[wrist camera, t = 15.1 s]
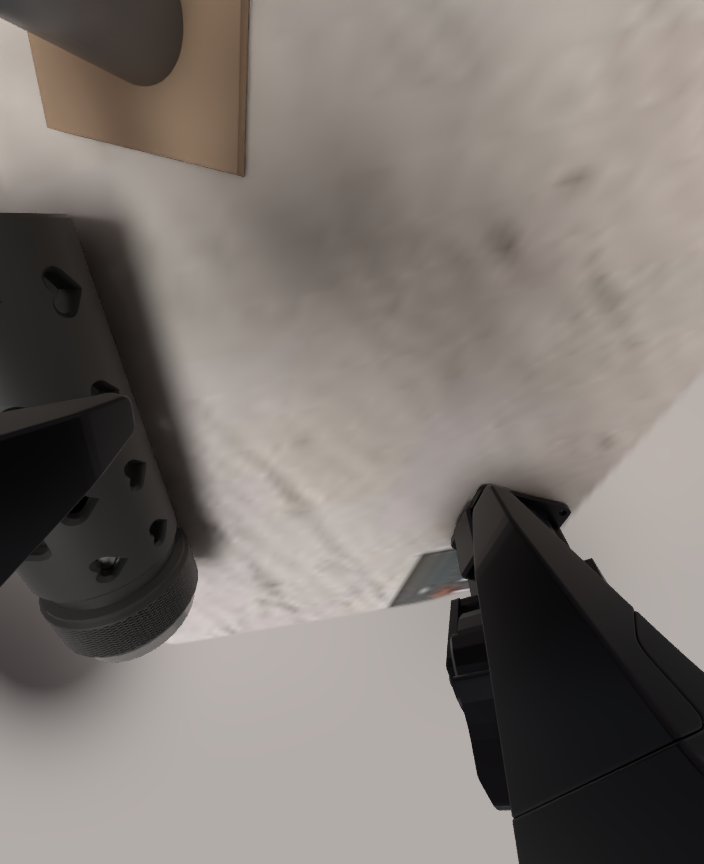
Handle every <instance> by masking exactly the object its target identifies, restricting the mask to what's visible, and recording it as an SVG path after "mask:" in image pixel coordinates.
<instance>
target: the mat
mask: <svg viewBox="0 0 704 864" xmlns="http://www.w3.org/2000/svg"><path fill="white" fill-rule="evenodd" d="M180 1H181V7H182V14H183V40H182V47H181V52H180V55H179V58H178V61H177V63H176V65H175V67H174V69H173V70H172V72H171V73H170V74H169V75H168V76H167V77H166V78H165V79H164V80H163V81H161V82H160V83H157V84H155V85H151V86H138V85H134V84H131V83H129V82H127V81H125V80H123V79H121V78H119V77H117V76H115V75H113V74H111V73H109V72H107V71H105V70H103V69H101V68H99V67H97V66H95V65H93V64H91V63H89V62H87V61H85V60H83V59H81V58H79V57H77V56H75V55H73V54H71V53H69V52H67V51H65V50H63V49H61V48H59V47H57V46H55V45H54V44H52V43H50V42H48V41H46V40H44V39H42V38H40V37H38V36H36V35H34V34H32V33H30V32H28V31H27V33H28V37H29V42H30V47H31V52H32V57H33V61H34V66H35V71H36V76H37V80H38V85H39V90H40V95H41V99H42V104H43V109H44V114H45V119H46V123H47V128H51V129H55V130H58V131H62V132H66V133H70V134H74V135H78V136H82V137H86V138H90V139H94V140H99V141H103V142H107V143H111V144H115V145H119V146H123V147H127V148H131V149H135V150H139V151H143V152H147V153H151V154H155V155H159V156H163V157H167V158H171V159H175V160H179V161H184V162H188V163H192V164H196V165H200V166H204V167H208V168H212V169H216V170H220V171H224V172H228V173H232V174H236V175H240V176H244V157H245V122H246V87H247V52H248V16H249V0H180Z"/></svg>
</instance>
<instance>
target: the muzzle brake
mask: <svg viewBox="0 0 704 864" xmlns="http://www.w3.org/2000/svg"><path fill="white" fill-rule="evenodd" d="M104 393H115V394H119V395H124V396H127V397H128V398H129V399H130V401H131V404H132V410H133V416H134V422H135V429H134V432H133V434H132V436H131V437H130V438H129V440H128V441H127V442H126V444H125V445H124V447H123V448H122V449H121V451H120V452H119V453H118V455H117V456H116V457H115V459H114V460H113V461H112V463H111V464H110V465H109V467H108V468H107V469H106V471H105V472H104V473H103V475H102V476H101V477H100V479H99V480H98V481H97V482H96V483H95V485H94V486H93V487H92V488H91V489H90V490H89V491H88V492H87V494H86V495H85V496H84V497H83V498H82V499H81V500H80V501H79V502H78V503H77V504H76V506H75V507H74V508H73V509H72V510H71V511H70V512H69V513H68V514H67V515H66V516H65V517H64V519H63V520H62V521H61V522H60V523H59V524H58V525H57V526H56V527H55V528H54V529H53V530H52V532H51V533H50V534H49V535H48V536H47V537H46V538H45V539H44V540H43V541H42V542H41V544H40V545H39V546H38V547H37V548H36V549H35V550H34V551H33V552H32V553H31V554H30V555H29V557H28V558H27V559H26V560H25V561H24V562H23V563H22V564H21V565H20V566H19V567H18V568H17V570H16V572H17V573H18V574H19V576H20V577H21V578H22V580H23V581H24V582H25V583H26V585H27V586H28V587H29V588H30V590H31V591H32V592H33V593H34V594H36V595H37V596H39V604H40V610H41V613H42V615H43V616H44V618H45V619H46V621H47V622H48V623H49V624H50V626H51V627H52V628H53V629H54V631H55V632H56V633H57V634H58V636H59V637H60V638H61V639H62V641H63V642H64V643H65V644H66V646H67V647H68V648H70V649H71V650H72V651H74V652H75V653H77V654H81V655H84V656H88V657H94V658H96V659H97V660H100V661H104V662H115V663H116V662H117V663H118V662H124V661H129V660H132V659H134V658H138V657H141V656H143V655H145V654H146V653H148V652H151V651H152V650H154V649H155V648H157V647H158V646H160V645H161V644H163V643H164V642H165V641H166V640H168V639H169V638H170V637H171V636H172V635H173V634H174V633H175V632H176V631H177V630H178V628H179V627H180V626H181V625H182V623H183V622H184V620H185V619H186V617H187V616H188V613H189V611H190V609H191V607H192V603H193V599H194V593H195V590H196V586H197V581H198V569H197V566H196V562H195V559H194V556H193V553H192V551H191V548H190V545H189V542H188V539H187V536H186V535H185V533H184V532H183V530H182V529H181V528H180V527H178V526H177V520H176V517H175V513H174V510H173V508H172V506H171V503H170V500H169V497H168V494H167V491H166V488H165V485H164V482H163V479H162V476H161V473H160V470H159V467H158V465H157V462H156V459H155V456H154V454H153V452H152V449H151V445H150V443H149V440H148V437H147V434H146V431H145V427H144V425H143V422H142V419H141V416H140V413H139V410H138V407H137V405H136V402H135V399H134V396H133V393H132V390H131V389H130V386H129V383H128V380H127V377H126V374H125V372H124V369H123V366H122V363H121V360H120V356H119V353H118V350H117V347H116V344H115V342H114V339H113V336H112V333H111V330H110V327H109V324H108V322H107V319H106V316H105V313H104V310H103V307H102V304H101V302H100V300H99V297H98V295H97V292H96V289H95V286H94V283H93V280H92V277H91V275H90V272H89V269H88V266H87V263H86V259H85V256H84V253H83V250H82V247H81V244H80V241H79V238H78V236H77V233H76V230H75V227H74V224H73V221H72V218H71V217H70V216H68V215H67V214H37V213H0V412H6V411H11V410H17V409H22V408H27V407H33V406H38V405H44V404H49V403H55V402H60V401H66V400H71V399H77V398H82V397H88V396H93V395H99V394H104Z"/></svg>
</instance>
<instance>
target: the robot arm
mask: <svg viewBox="0 0 704 864" xmlns="http://www.w3.org/2000/svg"><path fill="white" fill-rule="evenodd" d="M134 429H135V422H134V416H133V410H132V404H131V401H130V399H129V398H128V397H127V396H124V395H119V394H115V393H104V394H99V395H93V396H88V397H82V398H77V399H71V400H66V401H60V402H55V403H49V404H44V405H38V406H33V407H27V408H22V409H17V410H11V411H6V412H0V587H1V586H2V585H3V584H4V583H5V581H6V580H7V579H8V578H9V577H10V576H11V575H12V574H13V573H14V572H15V571H16V570H17V568H18V567H19V566H20V565H21V564H22V563H23V562H24V561H25V560H26V559H27V558H28V557H29V555H30V554H31V553H32V552H33V551H34V550H35V549H36V548H37V547H38V546H39V545H40V544H41V542H42V541H43V540H44V539H45V538H46V537H47V536H48V535H49V534H50V533H51V532H52V530H53V529H54V528H55V527H56V526H57V525H58V524H59V523H60V522H61V521H62V520H63V519H64V517H65V516H66V515H67V514H68V513H69V512H70V511H71V510H72V509H73V508H74V507H75V506H76V504H77V503H78V502H79V501H80V500H81V499H82V498H83V497H84V496H85V495H86V494H87V492H88V491H89V490H90V489H91V488H92V487H93V486H94V485H95V483H96V482H97V481H98V480H99V479H100V477H101V476H102V475H103V473H104V472H105V471H106V469H107V468H108V467H109V465H110V464H111V463H112V461H113V460H114V459H115V457H116V456H117V455H118V453H119V452H120V451H121V449H122V448H123V447H124V445H125V444H126V442H127V441H128V440H129V438H130V437H131V436H132V434H133V432H134ZM560 511H561V512H560ZM570 513H571V511H570V509H569V507H568V506H567V505H565V504H562V503H558V502H554V501H550V500H546V499H541V498H537V497H533V496H529V495H525V494H521V493H517V492H513V491H509V490H508V489H506V488H504V487H500V486H496V485H492V484H490V485H488V486H482V487H480V489H479V490H478V492H477V494H476V495H475V497H474V499H473V501H472V503H471V505H470V506H469V508H467V509H465V511H464V513H463V515H462V516H461V518H460V520H459V522H458V524H457V526H456V527H455V529H454V536H453V537H452V539H451V546H452V548H454V549H456V550H457V555H458V561H459V567H460V573H461V575H462V577H463V578H464V579H468V582H469V587H470V593H471V597H467V598H464V599H460V598H458V599H455V600H452V601H451V610H450V621H449V633H448V645H447V661H446V667H447V671H448V673H449V679H450V684H451V686H452V687H453V690H454V693H455V695H456V698H457V700H458V702H459V704H460V706H461V708H462V710H463V712H464V714H465V717H466V721H467V725H468V729H469V733H470V738H471V743H472V749H473V754H474V759H475V765H476V770H477V775H478V778H479V780H480V782H481V784H482V786H483V788H484V789H485V791H486V793H487V795H488V797H489V798H490V800H491V802H492V804H493V805H494V807H495V808H496V809H497V810H511V812H512V817H513V818H514V819H513V827H514V834H515V840H516V847H517V853H518V859H519V864H704V672H703V671H702V670H700V669H699V668H698V667H697V666H696V665H695V664H694V663H693V662H691V661H690V660H689V659H688V658H687V657H686V656H685V655H684V654H682V653H681V652H680V651H679V650H678V649H677V648H676V647H675V646H674V645H673V644H672V643H670V642H669V641H668V640H667V639H666V638H665V637H664V636H663V635H662V634H661V633H660V632H659V631H657V630H656V629H655V628H654V627H653V626H652V625H651V624H650V623H649V622H648V621H647V620H646V619H645V618H643V616H641V615H640V614H639V613H638V612H636V611H634V609H633V607H632V606H631V605H630V604H628V602H627V601H625V600H624V599H623V598H622V597H621V596H620V595H619V594H618V593H617V592H616V591H615V590H614V589H613V588H612V587H611V586H610V585H609V584H608V583H607V582H606V580H605V579H604V577H603V575H602V574H601V572H600V570H599V569H598V567H597V566H596V564H595V562H594V561H593V559H592V558H591V559H588V560H585V561H583V560H582V559H581V558H580V557H579V556H578V555H577V554H576V553H575V552H573V551H572V550H571V549H570V547H569V545H568V543H567V541H566V539H565V537H564V535H563V534H562V532H561V530H560V527H561V525H562V524H563V523H564V522H565V520H566V519H567V518H568V516H569V515H570Z"/></svg>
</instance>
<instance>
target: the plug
mask: <svg viewBox="0 0 704 864" xmlns="http://www.w3.org/2000/svg"><path fill="white" fill-rule="evenodd" d="M0 18H2V19H4V20H6V21H8V22H10V23H12V24H14V25H16V26H18V27H20V28H22V29H24V30H26V31H28V32H30V33H32V34H34V35H36V36H38V37H40V38H42V39H44V40H46V41H48V42H50V43H52V44H54V45H55V46H57V47H59V48H61V49H63V50H65V51H67V52H69V53H71V54H73V55H75V56H77V57H79V58H81V59H83V60H85V61H87V62H89V63H91V64H93V65H95V66H97V67H99V68H101V69H103V70H105V71H107V72H109V73H111V74H113V75H115V76H117V77H119V78H121V79H123V80H125V81H127V82H129V83H131V84H134V85H138V86H151V85H155V84H157V83H160V82H161V81H163V80H164V79H165V78H166V77H167V76H168V75H169V74H170V73H171V72H172V70H173V69H174V67H175V65H176V63H177V61H178V58H179V55H180V52H181V47H182V40H183V14H182V7H181V1H180V0H0Z"/></svg>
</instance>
